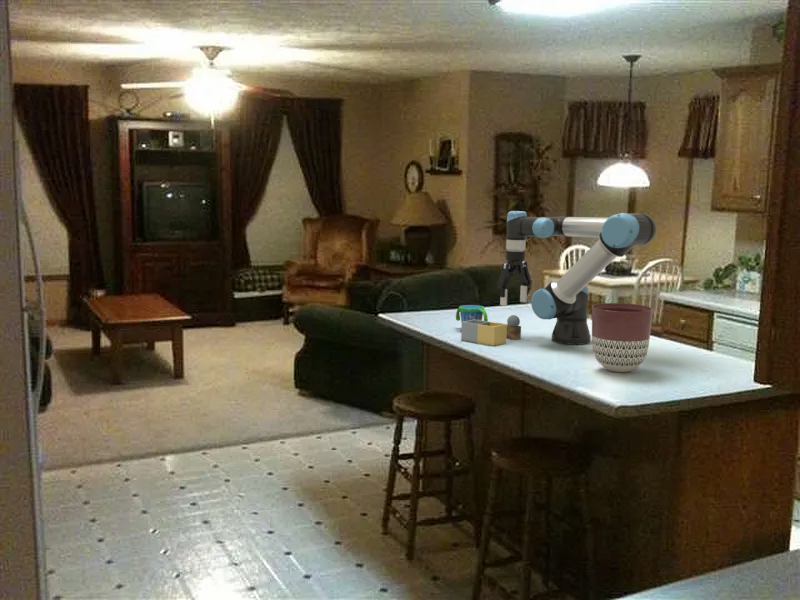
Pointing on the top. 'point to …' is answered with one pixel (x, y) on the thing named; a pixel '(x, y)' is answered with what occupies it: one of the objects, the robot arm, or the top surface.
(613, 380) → the top surface
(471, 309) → the snack cup
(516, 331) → the rack
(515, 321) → the slate ball
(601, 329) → the planter
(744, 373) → the top surface
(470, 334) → the tube block
